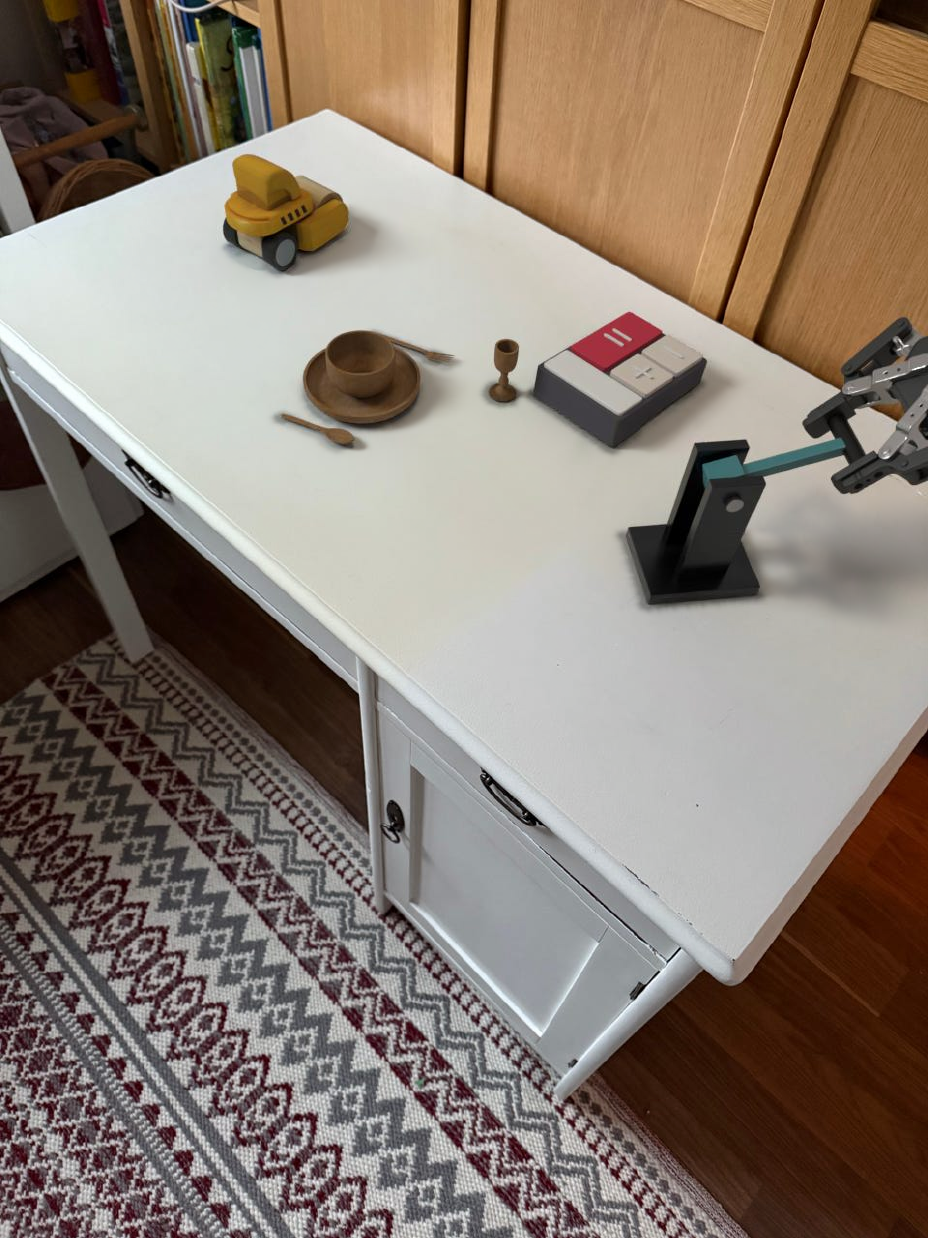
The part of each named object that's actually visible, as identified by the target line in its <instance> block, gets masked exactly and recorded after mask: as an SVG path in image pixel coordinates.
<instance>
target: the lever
mask: <svg viewBox="0 0 928 1238" xmlns="http://www.w3.org/2000/svg"><path fill="white" fill-rule="evenodd" d="M848 420H849V419H848ZM848 420H847V419H846V417H845V415H843V414H836V415H834V416H832V417H831V418H830V419H829V420H828V423H827V424H828V427H829V429H830V430H831V431H830V432H831V434H832V436H833V438H834V439H829V440H826V441H824V442H819V443H816V444H812V445H809V446H805V447H802V448H801V447H800V448H798V449H794V450H791V451H787V452H783V453H780V454H775V455H772V456H769V457H765V458H761V459H758V460H753V461H751V462H747V463H744V464H743V465H741V464H740V461H739V459H738V457H737V455H734V456H730V457H727V458H723V459H720V460H716V461H712V462H709V463H705V464H702V469H703V484H704V487H705V489H706V486H707V484H708V481H709V479H715V478H729V477H743V476H757V475H762V476H763V478H766V477H769V476H773V475H776V474H779V473H784V472H787V471H792V470H795V469H798V468H802V467H806V466H809V465H813V464H818V463H820V462H821V463H822V462H825V461H827V460H832V459H835V458H839V457H842V456H844V457H843V458H844V459H845V460H846V462H847V465H850V464H852V463H853V462H855V461H857V460H858V459H860V458H862V457H863V456H865V455H867V453H866V451H865V449H864V448H863V445H862V444H861V442H860V440H859V438H858V437H857V435H856V433H855V431H854V430H853V428H852V425H851V424H850V423H849V421H848Z"/></svg>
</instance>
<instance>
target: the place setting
mask: <svg viewBox="0 0 928 1238" xmlns="http://www.w3.org/2000/svg"><path fill="white" fill-rule="evenodd" d="M393 343H394V344H396V345H394V344H393ZM397 345H399V346H403V347H405V348H408V349H412V350H414V351H417V352H420V353H423V354H424V355H425V356H426V358H427V359H428V360H431V361H435V362H443V363H450V362H451V361H452V359H454V357H455V355H454V354H450V353H449V354H448V353H442V352H436V351H429V350H427V349H424V348H422V347H419V346H416V345H413V344H410V343H408V342H405V341H403V340H401V339H400V340H399V339H397V338H394V337H391V336H388V335H385V334H382V333H378V332H375V331H371V330H364V329H356V330H350V331H346V332H342V333H340V334H339V335H336V336H335V337H333V339H331V340H330V341H329V342H328V344H327V346H326V347H325V348H323V349H321V350H320V351H318V352H317V353H316V354H314V356H312V357H311V358H310V360H309V361H308V363H306V365H305V367H304V370H303V374H302V384H303V389H304V392H305V395H306V397H307V398H308V400H309V401H310V403H311V404H312V405H313V406H314V407H315V408H316V409H317V410H318V411H319V412H321V413H322V414H324V415H326V416H327V417H330V418H332V419H334V420H337V421H340V422H345V423H350V424H372V423H373V424H374V423H378V422H383V421H386V420H389V419H392V418H394V417H396V416H398V415H399V414H401V413H402V412H404V411H405V410H406V409H407V408H409V407H410V406H411V405H412V404H413V402H414V401H415V399H416V397H417V395H418V393H419V391H420V388H421V387H420V386H421V371H420V368H419V366H418V364H417V362H416V361H415V360H414V358H413V357H412V356H411V355H410V354H409V353H408V352H406V351H404V350H403V349H402V348H400V347H398V346H397ZM519 354H520V345H519V343H518V342H517V341H516V340H513V339H512V338H511V339H510V338H502V339H499V340H497V341H496V342H495V343H494V350H493V364H494V367H495V369H496V370H497V371H498V372H499V374H500V376H499V377H498V381H497V383H494V384H492V385H491V386H490V387H489V389H488V394H489V397H490V398H491V399H492V400H493V401H496V402H500V403H508V402H511V401H512V400H514V399H515V397H516V396H517V391H516V388H515V387H514V386H513V385H511V384H509V381H510V380H509V379H510V378H509V373H511V372H513V371H515V369H516V368H517V364H518V360H519ZM280 416H281V417H282V418H283V419H285V420H288V421H290V422H293V423H296V424H299V425H303V426H305V427H309V428H312V429H315V430H317V431H320V432H321V433H322V434H324V435H325V437H326V438H327V439H328V440H329V441H331V442H334V443H336V444H343V445H347V444H351V443H353V442H354V441H355V437H354V435H353V434H352V433H351V432H350V431H349V430H346V429H344V428H340V427H325V426H321V425H319V424H315V423H312V422H311V421H307V420H304V419H302V418H300V417H297V416H293V415H290V414H286V413H281V414H280Z"/></svg>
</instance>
